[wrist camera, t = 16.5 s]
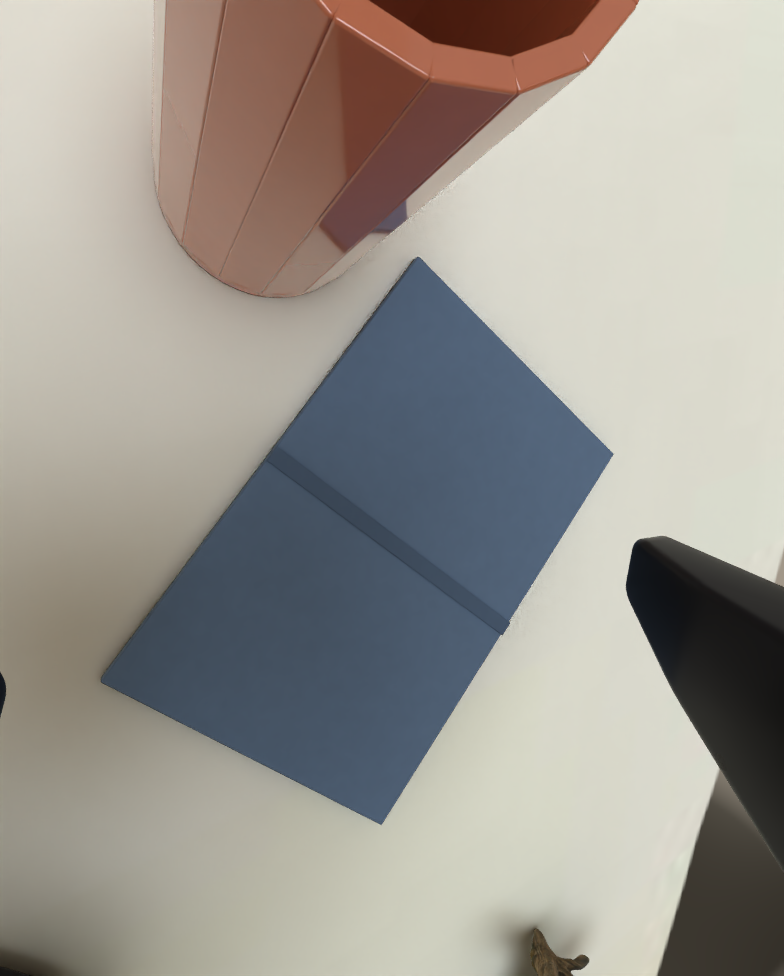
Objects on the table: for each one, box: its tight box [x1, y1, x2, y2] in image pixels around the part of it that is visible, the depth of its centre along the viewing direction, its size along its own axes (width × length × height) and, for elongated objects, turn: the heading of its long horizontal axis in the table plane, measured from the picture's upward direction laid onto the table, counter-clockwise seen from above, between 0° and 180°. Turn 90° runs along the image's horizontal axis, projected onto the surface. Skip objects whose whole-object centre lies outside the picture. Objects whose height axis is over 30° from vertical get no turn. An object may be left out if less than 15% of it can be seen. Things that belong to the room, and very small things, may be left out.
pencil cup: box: [152, 0, 639, 298], centre depth 13 cm, size 7×7×13 cm
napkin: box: [101, 257, 613, 825], centre depth 22 cm, size 18×12×1 cm, turn 142°
